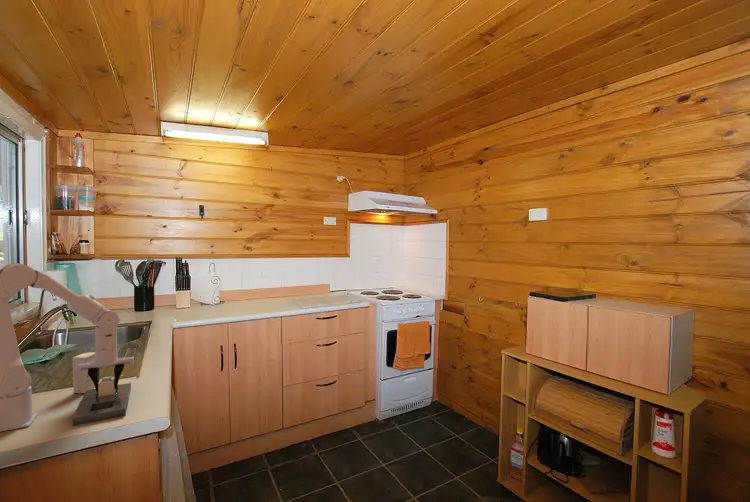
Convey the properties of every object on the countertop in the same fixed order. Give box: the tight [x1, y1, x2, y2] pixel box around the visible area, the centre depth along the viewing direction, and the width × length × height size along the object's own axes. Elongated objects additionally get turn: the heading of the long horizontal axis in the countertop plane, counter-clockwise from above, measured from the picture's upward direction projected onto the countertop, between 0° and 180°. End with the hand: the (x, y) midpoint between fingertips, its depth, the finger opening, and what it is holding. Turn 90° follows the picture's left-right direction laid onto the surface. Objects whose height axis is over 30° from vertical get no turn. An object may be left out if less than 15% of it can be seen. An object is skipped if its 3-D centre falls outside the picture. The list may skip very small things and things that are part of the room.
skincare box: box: [71, 351, 96, 394], centre depth 124 cm, size 6×4×12 cm
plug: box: [98, 375, 116, 397], centre depth 118 cm, size 4×4×7 cm
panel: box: [72, 382, 132, 427], centre depth 113 cm, size 12×22×2 cm, turn 30°
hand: (107, 389), depth 118 cm, fingers closed on plug, 4 cm apart
